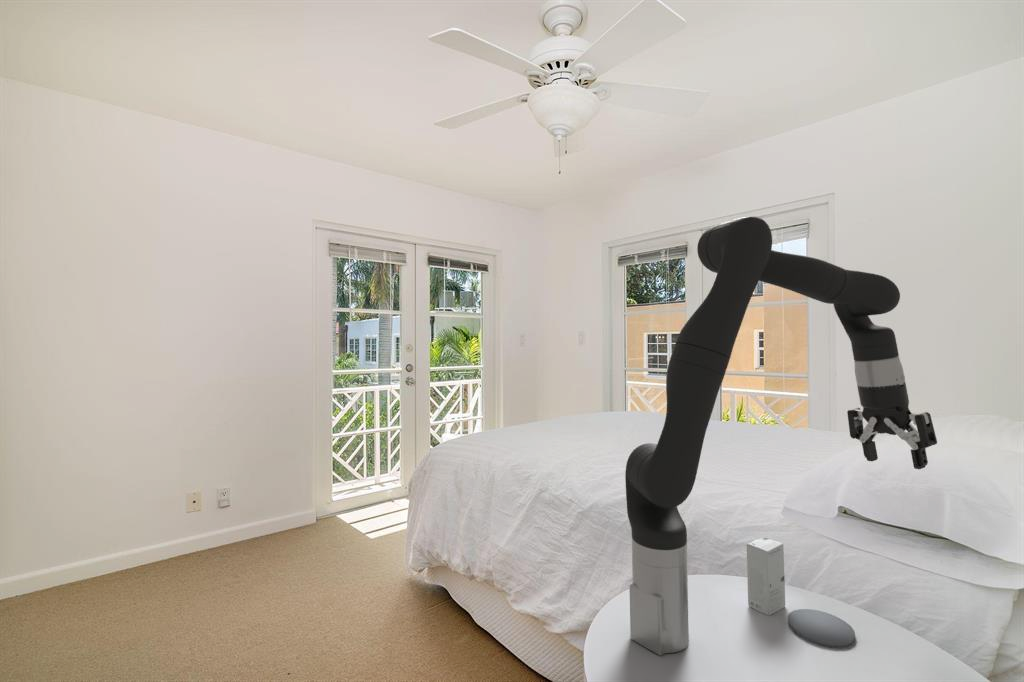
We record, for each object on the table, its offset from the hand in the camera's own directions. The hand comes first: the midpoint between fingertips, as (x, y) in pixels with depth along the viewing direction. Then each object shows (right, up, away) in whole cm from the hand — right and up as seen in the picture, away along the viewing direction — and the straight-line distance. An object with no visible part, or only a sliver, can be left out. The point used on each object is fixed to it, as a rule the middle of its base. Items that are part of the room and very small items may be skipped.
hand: (895, 464), depth 94 cm
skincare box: (-25, -28, 0) cm, 37 cm away
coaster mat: (-19, -27, -8) cm, 34 cm away
